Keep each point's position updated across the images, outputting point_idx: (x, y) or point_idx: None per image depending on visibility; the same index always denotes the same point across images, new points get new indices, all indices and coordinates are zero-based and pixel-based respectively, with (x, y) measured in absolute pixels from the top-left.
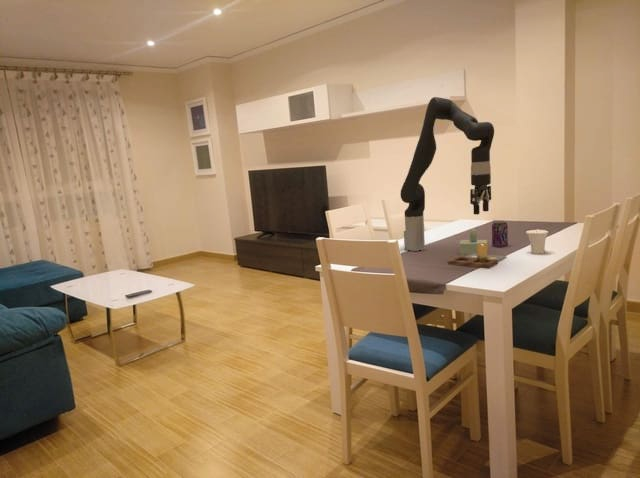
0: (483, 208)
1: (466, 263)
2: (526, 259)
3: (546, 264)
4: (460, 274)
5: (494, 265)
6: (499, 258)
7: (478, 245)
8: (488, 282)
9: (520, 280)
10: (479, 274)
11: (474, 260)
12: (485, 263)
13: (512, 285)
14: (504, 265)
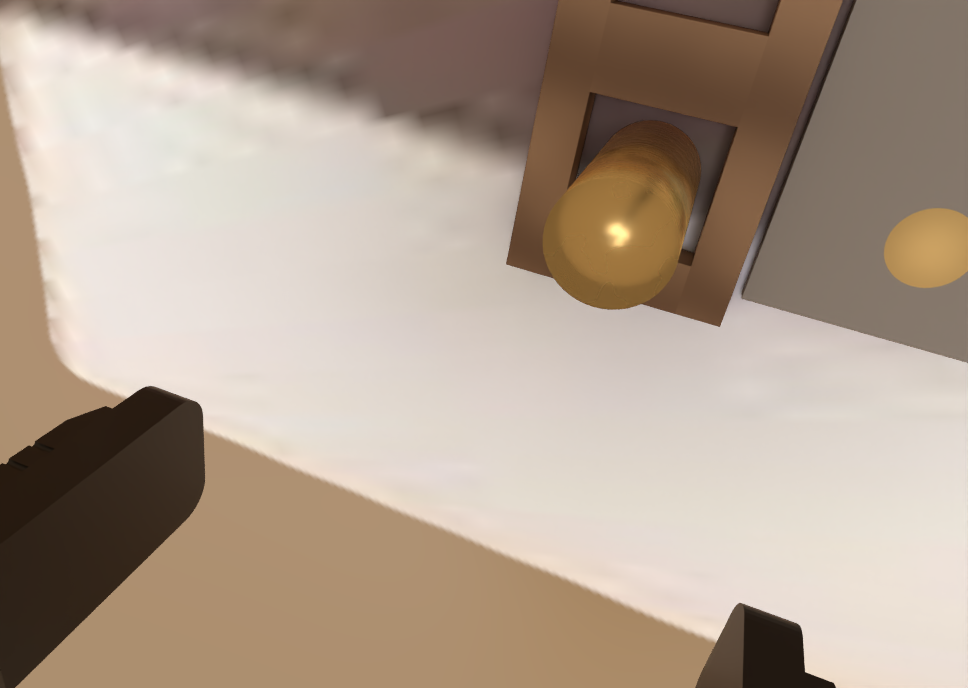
0: (737, 682)
1: (556, 18)
2: (937, 535)
3: None
4: (264, 45)
5: None
6: (917, 317)
7: (556, 203)
8: (168, 290)
9: (284, 459)
10: (320, 203)
11: (665, 89)
12: None
13: None
14: (661, 365)
